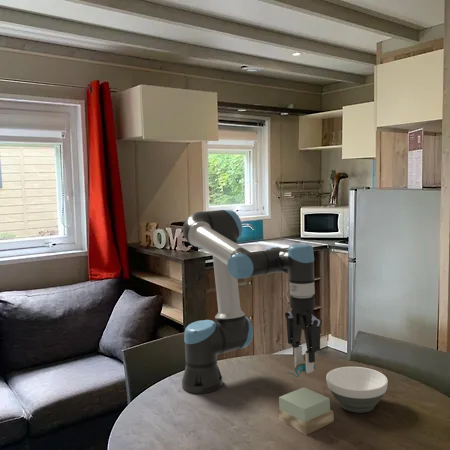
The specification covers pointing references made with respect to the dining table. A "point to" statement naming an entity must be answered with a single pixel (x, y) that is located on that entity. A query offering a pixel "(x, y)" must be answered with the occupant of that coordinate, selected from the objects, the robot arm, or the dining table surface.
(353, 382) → the bowl
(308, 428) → the tower base
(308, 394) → the tower top
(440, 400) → the dining table surface
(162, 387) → the dining table surface
